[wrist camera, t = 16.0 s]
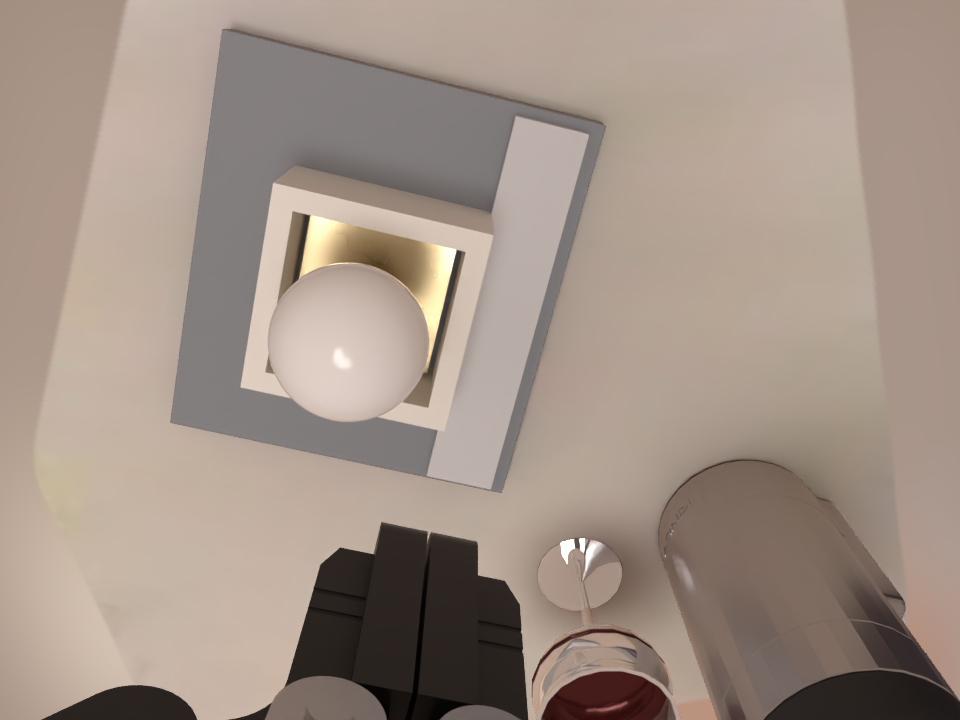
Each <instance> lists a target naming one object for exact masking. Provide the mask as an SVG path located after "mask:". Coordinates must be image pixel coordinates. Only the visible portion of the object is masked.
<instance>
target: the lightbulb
mask: <svg viewBox="0 0 960 720" xmlns="http://www.w3.org/2000/svg"><path fill="white" fill-rule="evenodd" d="M268 353H269V358H270V363H271V366H272V369H273V372H274V374H275V376H276V378H277V380H278V382H279V383H280V385H281V387H282V388H283V389H284V391H285V392H286V393H287V394H288V396H289V397H290V398H291V399H292V400H293V401H295V402H296V403H297V404H298V405H299V406H301V407H302V408H303V409H305V410H307V411H308V412H310V413H312V414H314V415H316V416H319V417H321V418H324V419H328V420H332V421H338V422H359V421H365V420H369V419H373V418H376V417H378V416H381V415H383V414H385V413H387V412H389V411H391V410H392V409H394V408H395V407H396V406H398V405H399V404H400V403H402V402H403V401H404V400H405V399H406V398H407V397H408V396H409V395H410V394H411V392H412V391H413V390H414V388H415V387H416V385H417V384H418V382H419V381H420V379H421V377H422V374H423V372H424V370H425V367H426V363H427V359H428V354H429V332H428V326H427V322H426V318H425V316H424V313H423V311H422V308H421V306H420V304H419V303H418V301H417V299H416V298H415V296H414V295H413V294H412V292H411V291H410V290H409V289H408V288H407V287H406V286H405V285H404V284H403V283H402V282H401V281H400V280H398V279H397V278H396V277H394V276H393V275H391V274H390V273H388V272H386V271H384V270H382V269H379V268H377V267H374V266H371V265H367V264H362V263H354V262H343V263H334V264H329V265H326V266H323V267H320V268H317V269H315V270H313V271H311V272H309V273H307V274H305V275H304V276H302V277H301V278H300V279H298V280H297V281H296V282H295V283H294V284H293V285H291V286H290V288H289V289H288V290H287V291H286V292H285V293H284V295H283V296H282V297H281V299H280V300H279V302H278V304H277V306H276V308H275V310H274V312H273V315H272V318H271V321H270V325H269V331H268Z"/></svg>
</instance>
